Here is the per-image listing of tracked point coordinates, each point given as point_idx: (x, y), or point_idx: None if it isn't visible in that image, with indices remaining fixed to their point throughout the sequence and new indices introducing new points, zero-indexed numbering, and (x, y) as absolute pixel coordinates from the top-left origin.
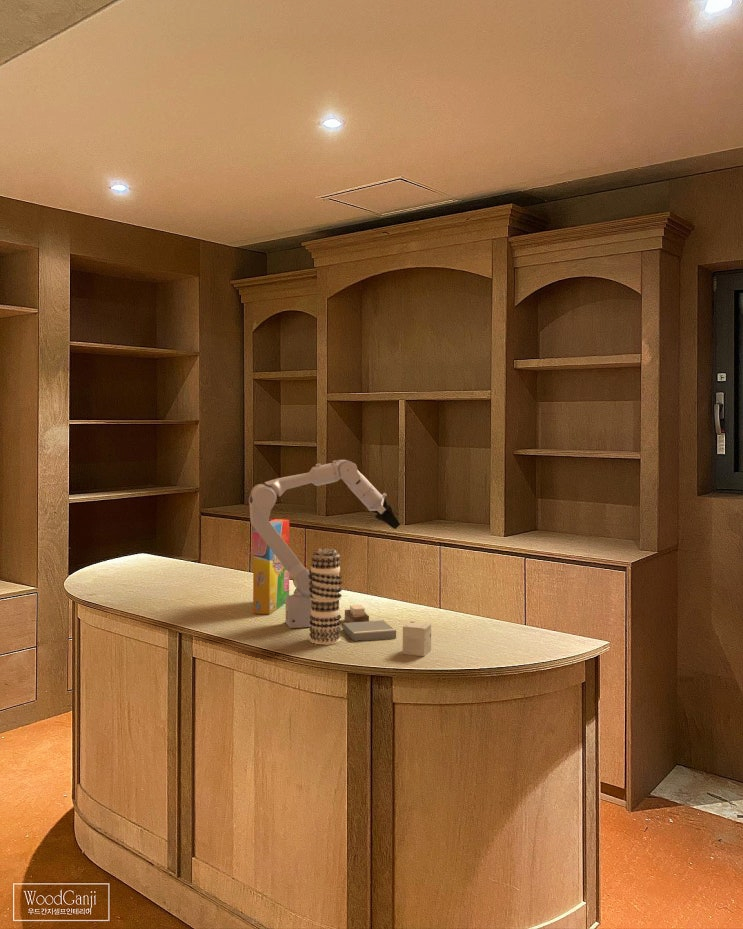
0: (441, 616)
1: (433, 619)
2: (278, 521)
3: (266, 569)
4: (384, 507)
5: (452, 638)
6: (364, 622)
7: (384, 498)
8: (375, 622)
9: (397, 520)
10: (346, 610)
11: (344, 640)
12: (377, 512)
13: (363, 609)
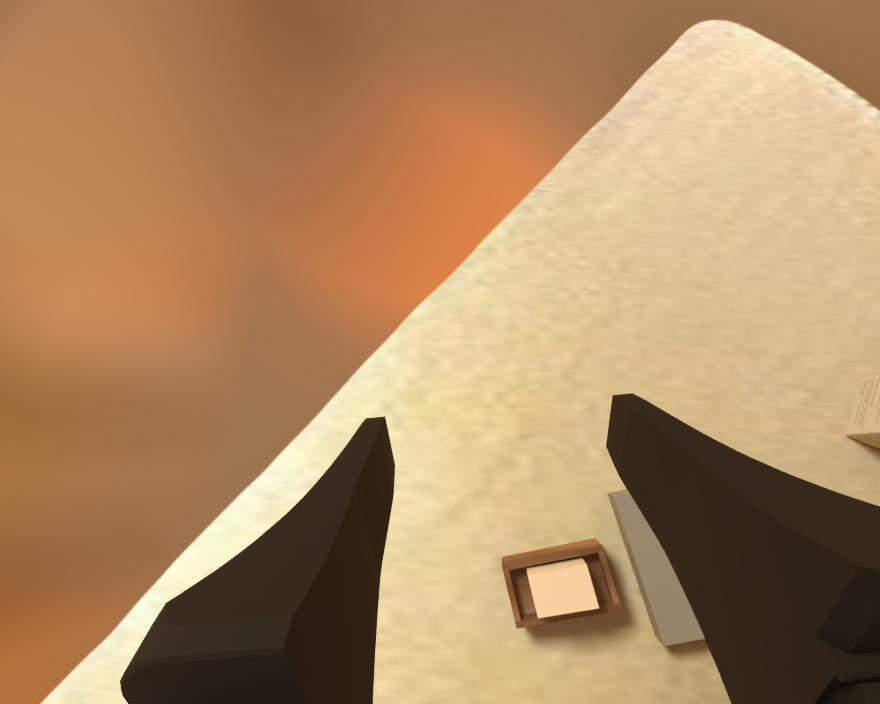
0: (481, 317)
1: (513, 340)
2: None
3: None
4: (845, 672)
5: (714, 310)
6: (647, 563)
7: (290, 644)
8: (644, 524)
9: (674, 417)
10: (526, 622)
11: None
12: (369, 661)
13: (587, 568)
